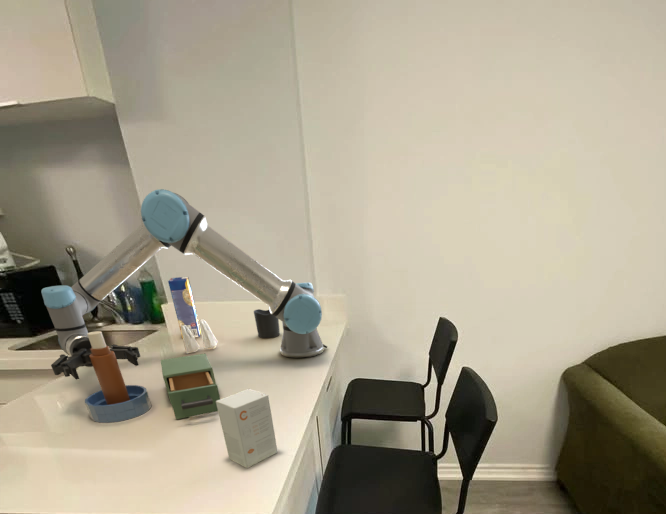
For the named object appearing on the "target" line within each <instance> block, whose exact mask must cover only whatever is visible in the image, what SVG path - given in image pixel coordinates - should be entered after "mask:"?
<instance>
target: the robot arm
mask: <svg viewBox="0 0 666 514" xmlns="http://www.w3.org/2000/svg"><path fill="white" fill-rule="evenodd" d="M140 216H141V218H140V225H139V226H137V228H136V229H134V230H133V231H132V232H131V233H130V234H129V235H128V236H127V237H126V238H124V239H123V240H122V241H121V242H119V244H118V245H117V246H115V247H114V248H113V249H112V250H110V252H108V254H106V255H105V256H104V257H103V258H102V259H101V260H100V261H98V262H97V264H95V265H94V266H93V267H91V269H90V270H89V271H87V272H86V273H85V274H84V275H83V276H82V277H81V278H80V279H79V280H77V281H76V282H74V284H73V285H72V286H69V285H66V284H65V285H51V286H47V287H43V288H42V289H41V290H40V291H41V296H42V299H43V303H44V306H45V307H46V309H47V312H48V314H49V317H50V319H51V322H52V324H53V326H54V329H55V332H56V335H57V338H58V339H57V340H58V344H59V347H60V349H61V351H64V353H65V354H64V353H62V354H60V355H59V357H58V358H57V359H56V360H55V361H53V362H52V363H51V364H50V367H51V369H52V371H53V375H55V376H59V375H61V374H62V373H63V375H64V377H65V378H67V377H70V376H72V378H74V379H75V381H77V380H80V376H79V373H78V371H77V369H78V368H81V367H86V368H93V365H92V362H91V359H90V357H89V355H90V354H92V353H91V350H90V349H91V348H92V346H91V343H90V340H89V337H88V335H87V334H88V333H89V331H88V329H87V325H86V322H85V320H84V317H83V316H84V315H86V314H89V313H91V312H92V311H93V310H94V309H96V307H97V306H98V305H99V304H100V303H101V302H102V301H103V300H104V299H105V298H106V297H108V296H109V295H110V294H111V293H112V292H114V290H116V289H117V288H118V287H119V286H121V285H122V283H124V282H125V281H126V280H127V279H128V278H129V277H131V276H132V275H133V274H134V273H135V272H136V271H138V269H140V268H141V267H142V266H143V265H144V264H145V263H147V262H148V261H150V259H152V258H153V257H154V256H155V255H156V254H157V253H158V252H160V250H162V249H165V250H166V249H167V250H168V249H169V248H170V247H172V248H174V249H176V250H177V251H179V252H181V254H183V255H184V256H188V255H194V256H196V257H197V258H198V259H200V260H201V261H203V262H204V263H205V264H207V265H209V266H210V267H211V268H213V269H214V270H216V271H217V272H218V273H220V274H221V275H223V276H225V278H227V279H229V280H230V281H232V282H233V283H234V284H236V285H238V287H240V288H242V289H243V290H244V291H246V292H248V293H249V294H250V295H252V296H254V297H255V298H256V299H258V300H259V301H261V302H262V303H264V304H265V305H266V306H268V310H269V309H270V313H271V314H272V315H274V316H275V317H277V318H278V320H279V321H281V324H282V336H281V341H280V342H281V343H280V348H279V351H280V355H281V356H283V357H286V358H292V359H303V358H304V359H305V358H311V357H315V356H318V355H321V354H322V353H323V352H324V351H325V349H328V346H327V345H325V344H324V343H323V341H322V338H321V335H320V334H319V333H320V332H318V327H319V325H320V323H321V321H322V317H323V313H322V312H323V311H322V307H321V304H320V302H319V300H318V299H317V298H316V297H315V293H314V292H315V290H314V286H313V284H312V282H298V283H297V282H294V281H293V280H291V279H288V280H283V279H282V278H280V277H279V276H278V275H276V274H275V273H273V272H272V271H271V270H269V269H268V268H266V267H265V266H264V265H263V264H261V263H260V262H259V261H257V260H256V259H255V258H253V257H251V256H250V255H249V254H247V253H246V252H245V251H244V250H242V249H241V248H239V247H238V246H236V245H235V244H234V243H233V242H231V241H230V240H229V239H227V238H226V237H224V236H223V235H222V234H220V233H219V232H218V231H216V230H215V229H214V228H212V227H211V226H210V225H209V223H208V220H207V217H206V216H205V215H204V214H203V213H202V212H200V211H199V210H198V209H196V208H195V207H194V206H192V205H191V204H190V203H189V202H188V201H187V199H185V197H183V196H182V195H180V194H178V193H177V192H173V191H171V190H169V189H163V188H161V189H158V188H157V189H155V190H152V191H151V192H149V193H148V194H146V196H145V197H144V198H143V200H142V202H141V207H140ZM109 348H110V351H114V353H115V356H116V359H117V360H127V362H129V363H130V364H132V365H134V366H135V367H138V366H140V364H139V358H141V357H142V356H141V353H140V350H139V347H138V346H127V345H118V344H113V343H112V344H111V345H110V347H109ZM324 348H325V349H324Z"/></svg>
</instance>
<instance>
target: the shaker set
mask: <svg viewBox="0 0 666 514" xmlns="http://www.w3.org/2000/svg"><path fill="white" fill-rule="evenodd" d="M198 321H199V325H200V330H201V333H200V335H201V339H202V345H203V348H204V349H206V350H210V351H212V350H214V349H215V348H216V347H217V344H218V343H219V341H218V339H217V337H216V336H215V334H214V332H213V331H212V329H211V327H210V325H209V324H208V322H207V321H206V320H205V319H204V318H202V319H198ZM184 327H185V328H184ZM181 331H182V335H181V337H182V336H183V339H182V340H183V346H184V350H185V354H190V353H195V352H197V351H199V349H201V346H200V344H199V342H198V341H197V340H196V339H197V338H196V337H194V336H193V335H192V333H191V331H190V330H189V328H188V327H187V326H186V325H184V326H183V325H182V326H181ZM181 331H180V332H181Z"/></svg>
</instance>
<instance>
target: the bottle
mask: <svg viewBox="0 0 666 514" xmlns="http://www.w3.org/2000/svg"><path fill="white" fill-rule="evenodd" d="M87 335H88V337H89V340H90V343H91V346H92V348H91V349H90V350H91V353H92V354H90V355H89V357H90V359H91V362H92V365H93V367H92V368H93V370H94V374H95V375H96V378H97V382H98V383H99V387H100V390H102V392H103V395H104V397H105V400H106V403H107V405H111V404H117V403H122V402H125V401H129V400H130V398H129V395H128V392H127V389H126V386H125V385H126V384H125V383H126V382H125V380H124V377H123V373H122V372H121V371H122V370H121V367H120V366H119V362H118V359H116V356H115V353H114V351H110V348H111V347H110V345H107V344H106V340H105V338H104V334H103V332H102V331H101V330H98V331H97V330H96V331H95V330H94V331H89V332H88V334H87Z"/></svg>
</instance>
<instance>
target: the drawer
mask: <svg viewBox="0 0 666 514" xmlns="http://www.w3.org/2000/svg"><path fill="white" fill-rule="evenodd" d="M169 383H170V388H171V392H167V394H168V393H169V396H168V398H169V397H170V399H169V401H170V400H171V403H170V405H171V407H172V410H173V413H174V418H175V420H180V419H185V418H186V419H187V418H190V417H197V416H202V415H206V414H212V413H216V412H217V413H218V409H217V405H216V401H217V400H220V399H221V397H220V391H219V388H218V387H219V386H218V384H217V383H216V384H213V381H212V379H211V377H210V375H209V372H208V371H205V372H199V373H192V374H186V375H180V376H174V377H169Z"/></svg>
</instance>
